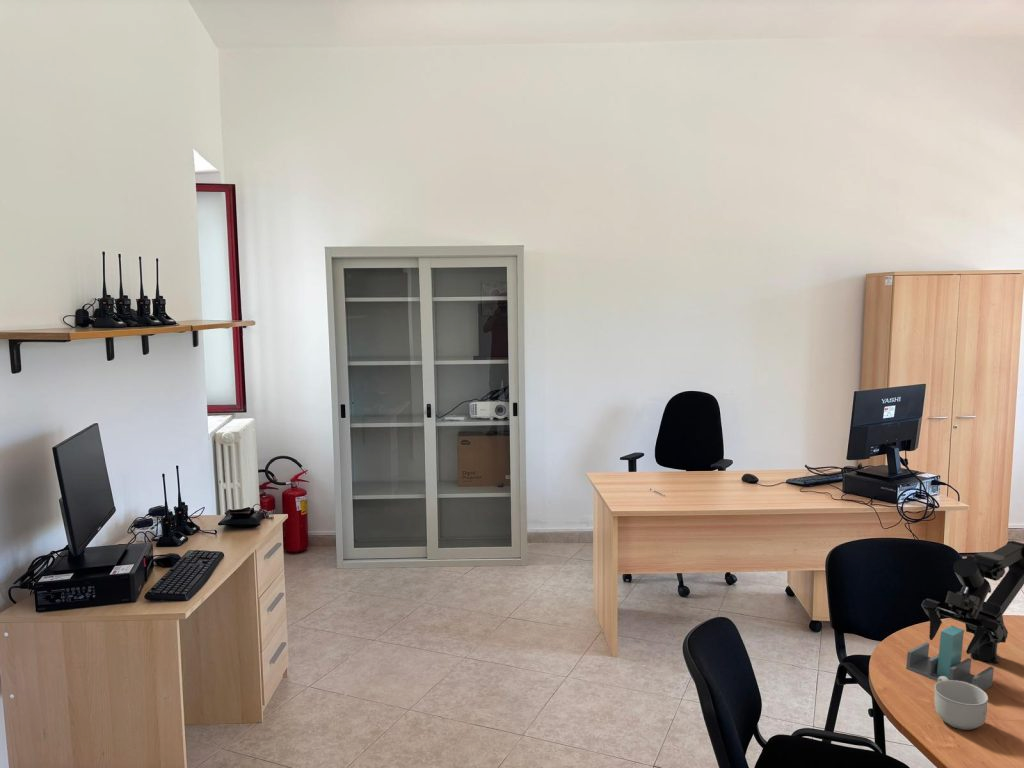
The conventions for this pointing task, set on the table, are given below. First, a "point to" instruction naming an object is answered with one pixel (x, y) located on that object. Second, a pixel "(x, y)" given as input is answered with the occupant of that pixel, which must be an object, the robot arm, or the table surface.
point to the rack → (959, 672)
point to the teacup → (960, 703)
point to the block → (949, 650)
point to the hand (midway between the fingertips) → (948, 646)
